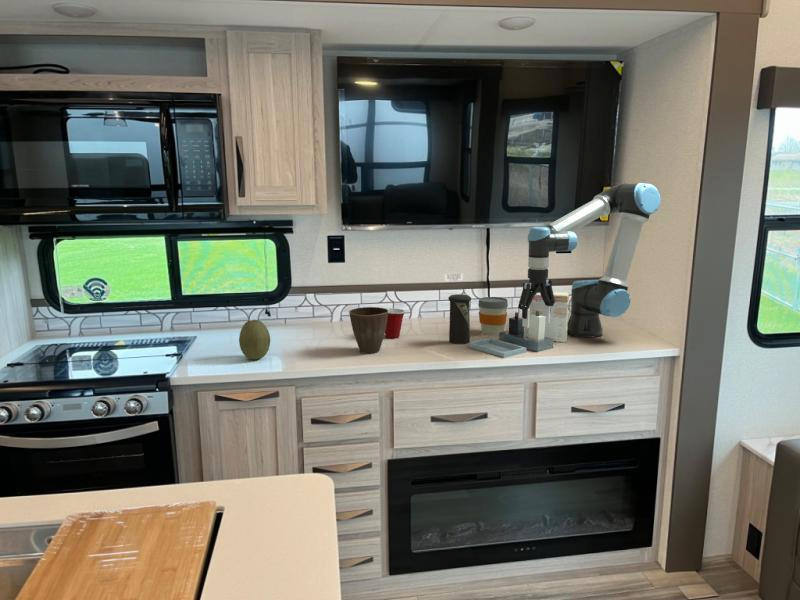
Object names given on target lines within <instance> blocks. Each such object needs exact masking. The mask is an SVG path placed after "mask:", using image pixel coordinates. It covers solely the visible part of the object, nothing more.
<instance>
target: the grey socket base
mask: <svg viewBox="0 0 800 600" xmlns="http://www.w3.org/2000/svg"><path fill="white" fill-rule="evenodd" d="M522 321H523V318H522V317H519V312H517V311H516V312H514V316H513V317H508V330H505V331H504V330H503V332H499V334H498V340H499V341H503V342H507V343H511V344H514V345H518V346H522V347H525V348H527V349H526V350H528V351H532V352H536V353H539V352H544V351H547V350H551V349H554V339H553V338H548V337H544V339H543V340H539V341H537V340H533V339H529V338H528V332H527V331H525V327H524V326H522Z"/></svg>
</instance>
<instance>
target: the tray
mask: <svg viewBox="0 0 800 600" xmlns="http://www.w3.org/2000/svg"><path fill="white" fill-rule="evenodd" d="M467 345H468V348H470V349H472V350H477V351H480V352H483V353H485V354H486V353H487V354H489V355H490V354H491V355H493V356H496V357H500V358H503V359H506V358H509V357H513V356H518V355H521V354H522V355H523V354H525V353H527V350H528V349H527V348H525V347H522V346H518V345H514V344H511V343H507V342H503V341H499V339H495V338H492V337H488V338H484V339H479V340H475V341H471V342H470V343H468V344H467Z"/></svg>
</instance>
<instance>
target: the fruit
mask: <svg viewBox="0 0 800 600" xmlns="http://www.w3.org/2000/svg"><path fill="white" fill-rule="evenodd" d="M238 342H239V348H240V350H241V352H242V354H243V355H244V356H245V358H247V359H249V360H253V361H254V360H255V361H256V360H260V359H263V358H264V357H265V356H266V355H267V354H268V352H269V350H270V346H271V336H270V331H269V329H268V328H267V325H266V324H265V323H263V322H262V320H258V319H249V320H248V321H246V322H245V323H244V324H243V325H242V327H241V329H240V332H239V338H238Z"/></svg>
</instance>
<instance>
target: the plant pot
mask: <svg viewBox="0 0 800 600" xmlns="http://www.w3.org/2000/svg"><path fill="white" fill-rule="evenodd" d="M385 308H386V307H385ZM385 308H384V307H376V306H374V307H373V306H364V307H357V308H352V309H351V310H349V311H348V313H349V319H350V324H351V328H352V329H351V330H352V332H353V335H354V338H355V342H356V343H357V347H358V349H359V352H360V353H362V354H367V355H368V354H369V355H370V354H377V353H379V352H380V350H381V347H382V344H383V341H384V337H385V330H386V324H387V318H388V310H387V309H385Z"/></svg>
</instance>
